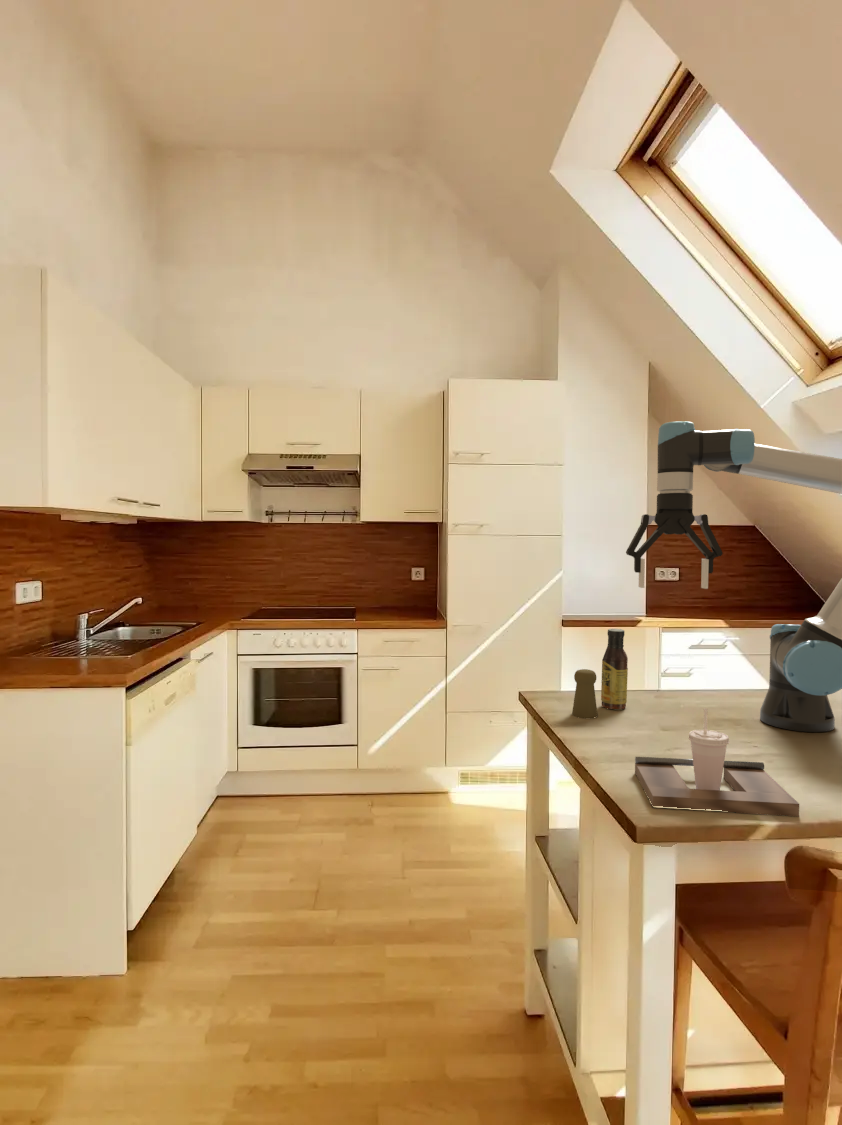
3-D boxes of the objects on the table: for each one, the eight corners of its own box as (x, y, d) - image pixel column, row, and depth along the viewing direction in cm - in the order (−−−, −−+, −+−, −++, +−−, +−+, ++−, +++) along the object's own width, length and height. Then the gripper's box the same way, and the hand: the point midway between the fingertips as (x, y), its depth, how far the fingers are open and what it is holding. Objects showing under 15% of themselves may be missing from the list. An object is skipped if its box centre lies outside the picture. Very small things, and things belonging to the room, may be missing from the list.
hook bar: (761, 768, 122) (761, 761, 122) (764, 770, 120) (764, 763, 120) (635, 762, 125) (635, 755, 124) (636, 764, 123) (636, 757, 123)
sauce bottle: (598, 704, 174) (599, 627, 173) (622, 704, 174) (624, 627, 173) (604, 711, 167) (605, 631, 167) (630, 711, 167) (631, 631, 166)
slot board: (761, 779, 122) (761, 768, 121) (798, 816, 106) (799, 803, 106) (634, 773, 125) (635, 762, 124) (652, 808, 109) (652, 795, 109)
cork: (598, 719, 160) (599, 673, 160) (572, 717, 161) (572, 671, 161) (596, 712, 166) (597, 668, 166) (571, 711, 167) (572, 666, 167)
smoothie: (693, 781, 121) (694, 703, 120) (732, 789, 117) (733, 708, 116) (683, 792, 115) (684, 710, 115) (723, 800, 112) (724, 716, 111)
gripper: (728, 493, 153) (726, 587, 154) (614, 493, 156) (613, 585, 157) (739, 491, 146) (736, 590, 147) (619, 492, 149) (618, 588, 150)
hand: (672, 588), depth 152 cm, fingers open, 13 cm apart
